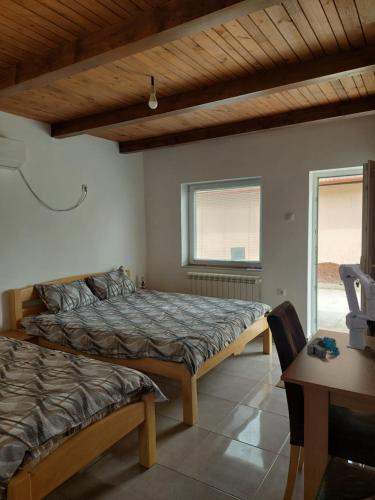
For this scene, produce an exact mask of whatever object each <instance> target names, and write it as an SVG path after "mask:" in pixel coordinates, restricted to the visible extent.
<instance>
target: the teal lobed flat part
mask: <svg viewBox="0 0 375 500" xmlns="http://www.w3.org/2000/svg"><path fill="white" fill-rule="evenodd" d="M329 338H330V337H329V336H328V337H327V336H324V337H323V338H322V339H323V341H324V342H323V343H324V344H326V348H324V349H325V350H326V351H327V350H328V351H329V352H330V353H332V354H333V355H336V356H337V355H339V354H340V351H339V347H337V343H336V342H337V341H336V342H335V343H332V342H333V341H332V339H331V340H329Z"/></svg>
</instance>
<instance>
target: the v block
mask: <svg viewBox="0 0 375 500" xmlns="http://www.w3.org/2000/svg"><path fill="white" fill-rule="evenodd" d="M331 339H332V341H333V342H332V343H335V342H337V341H336V339H335V338H333V337H329V340H331ZM323 342H324V341H323V338H322V337H318V336H316V337H315V338H314V339H312V341H311V342H310V343H308V344H307V345H306V354H308V355H312V356H313V355H314V356H315V357H317V358H318V359H320V360H323V359H326V358H327V350H325V348H326V344H324V343H323Z"/></svg>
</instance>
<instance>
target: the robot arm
mask: <svg viewBox="0 0 375 500" xmlns="http://www.w3.org/2000/svg"><path fill="white" fill-rule="evenodd" d="M338 274H339V278H340V280H341V281H342V282H343V286H344V291H345V295H346V300H347V305H348V309H349V312H348V313H347V314H346V315H345V325H346V328H347V329H348V330H349V331H348V333H349V334H348V335H349V336H348V344H346V348H351V349H357V350H363V351H364V350H365V348H366V347H367V346H368V345H367V343H365V340H366V339H365V337H366V333H365V332H366V331H367V329H369V332H370V333H369V334H370V337H373V338H375V280H374V279H373V278H372V277H371V276H370V275H369V274H366V273H364V271H363V270H362V265H360V264H359V263H345V264H344V263H341V264H340V265H339V268H338ZM356 281H358V283H359V284H360V285H361V286H362V287H363V289H364V293H365V298H366V313H364V312H363V311H362V310H361V308H360V303H359V300H358V295H357V292H356V287H355V282H356Z"/></svg>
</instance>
